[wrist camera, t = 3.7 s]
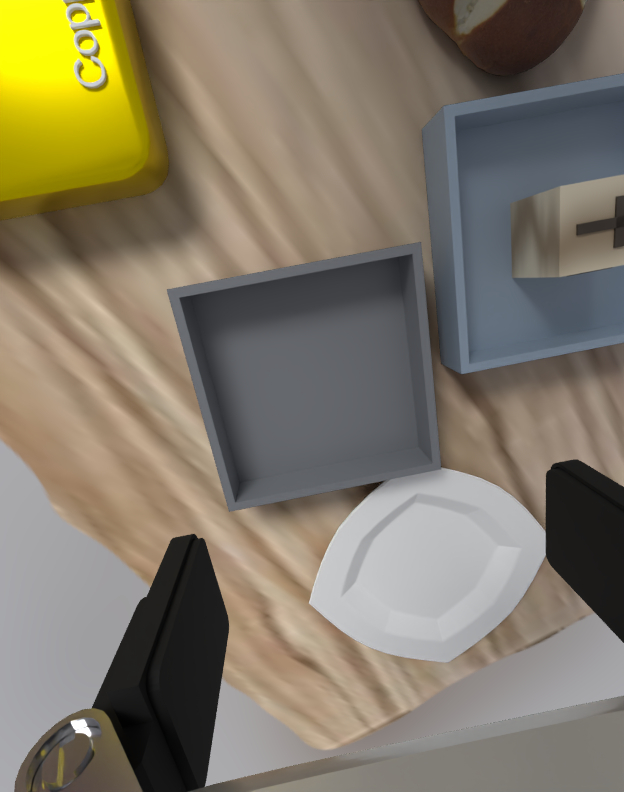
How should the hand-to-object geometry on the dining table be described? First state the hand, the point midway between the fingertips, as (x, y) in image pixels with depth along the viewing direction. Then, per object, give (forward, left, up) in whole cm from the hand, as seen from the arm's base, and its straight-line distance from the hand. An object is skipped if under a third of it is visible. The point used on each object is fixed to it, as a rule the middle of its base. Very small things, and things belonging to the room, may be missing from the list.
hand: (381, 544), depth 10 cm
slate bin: (-7, +18, -20) cm, 28 cm away
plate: (+19, +7, -21) cm, 29 cm away
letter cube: (-7, +18, -20) cm, 27 cm away
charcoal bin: (0, 0, -20) cm, 20 cm away
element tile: (-21, -14, -21) cm, 33 cm away
